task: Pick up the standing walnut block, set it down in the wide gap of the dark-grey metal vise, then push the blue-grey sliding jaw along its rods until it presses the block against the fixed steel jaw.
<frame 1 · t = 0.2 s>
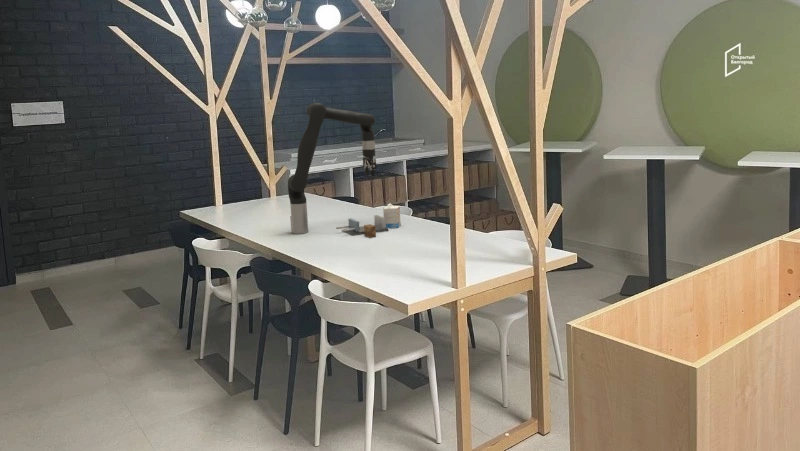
hand: (370, 175, 405), 29 cm above the table, fingers open, 8 cm apart
block: (370, 236, 375), on the table
vise base: (365, 231, 389), on the table
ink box: (392, 226, 399), on the table
sliding jaw: (347, 225, 384), point 5 cm above the table, slide at 0.0 cm
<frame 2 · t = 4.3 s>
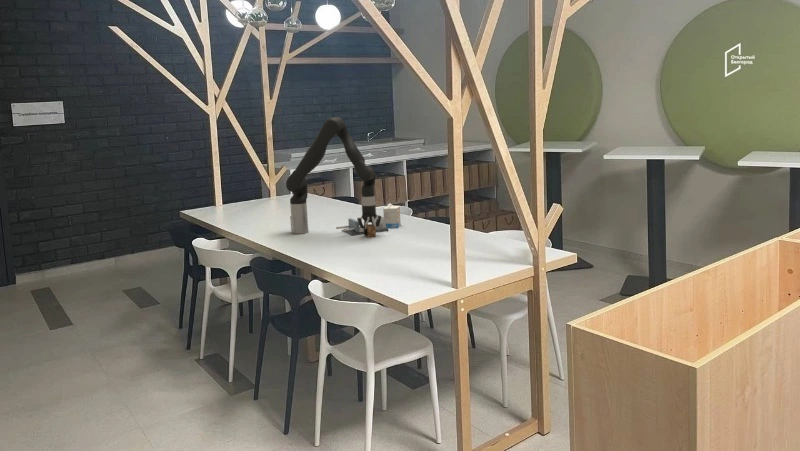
hand: (370, 234, 375), 1 cm above the table, fingers closed on block, 4 cm apart
block: (370, 236, 375), on the table, touching gripper
everything else where it was.
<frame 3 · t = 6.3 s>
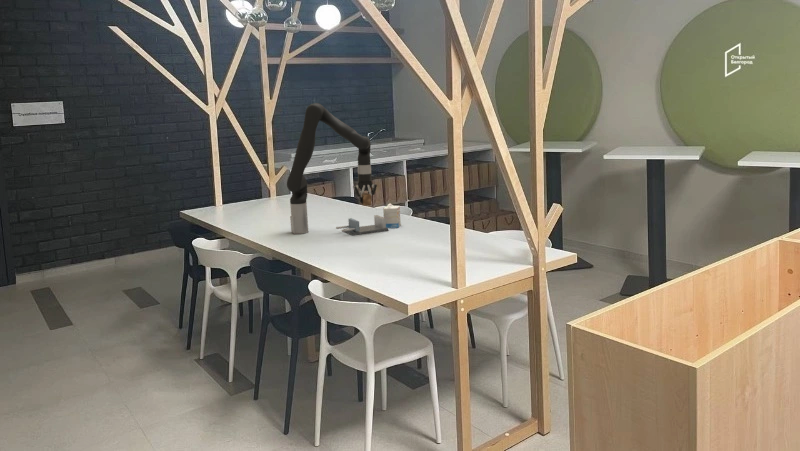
hand: (365, 202, 383), 17 cm above the table, fingers closed on block, 4 cm apart
block: (365, 204, 383), point 16 cm above the table, touching gripper
everything else where it was.
when the fingers open (3 cm above the table, at t = 8.7 s): block stays where it is, resting on vise base.
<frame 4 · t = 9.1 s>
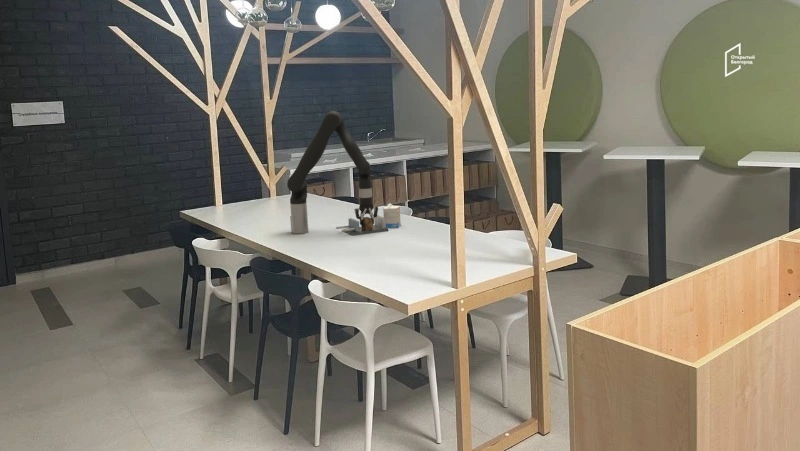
hand: (367, 225, 389), 3 cm above the table, fingers open, 5 cm apart
block: (367, 228, 389), point 1 cm above the table, touching vise base
everything else where it was.
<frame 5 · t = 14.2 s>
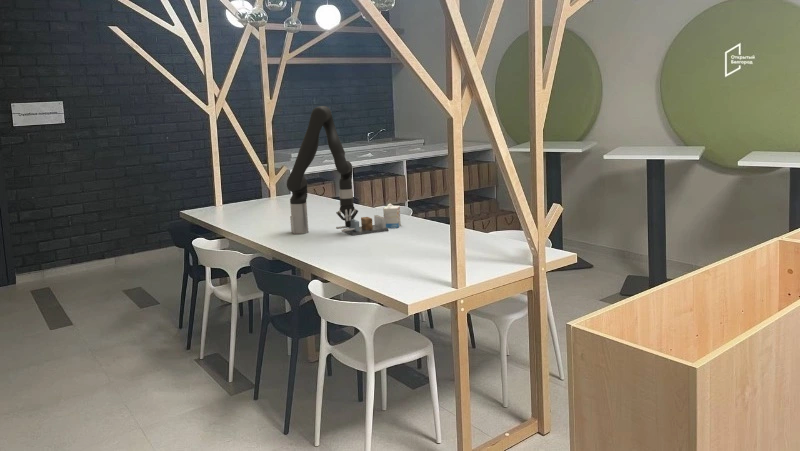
hand: (348, 227, 384), 4 cm above the table, fingers closed
sliding jaw: (347, 225, 384), point 5 cm above the table, slide at 0.0 cm, touching gripper
everything else where it was.
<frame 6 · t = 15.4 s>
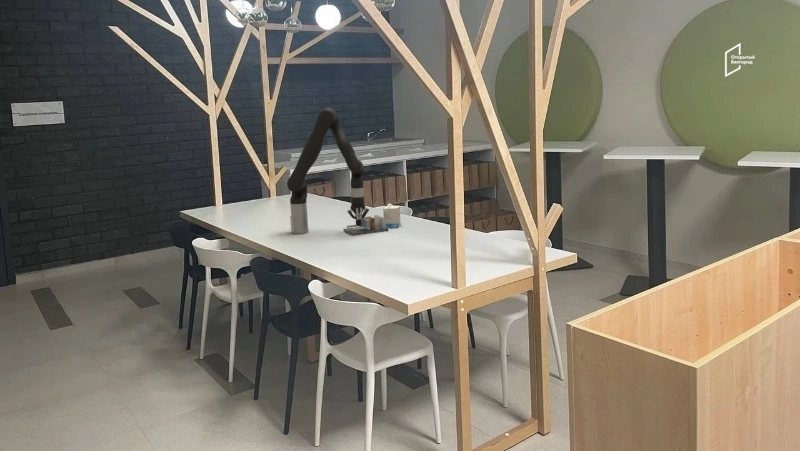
hand: (358, 225, 386), 4 cm above the table, fingers closed
block: (369, 228, 389), point 2 cm above the table, touching sliding jaw
sliding jaw: (357, 224, 386), point 5 cm above the table, slide at 6.4 cm, touching block, gripper
everything else where it was.
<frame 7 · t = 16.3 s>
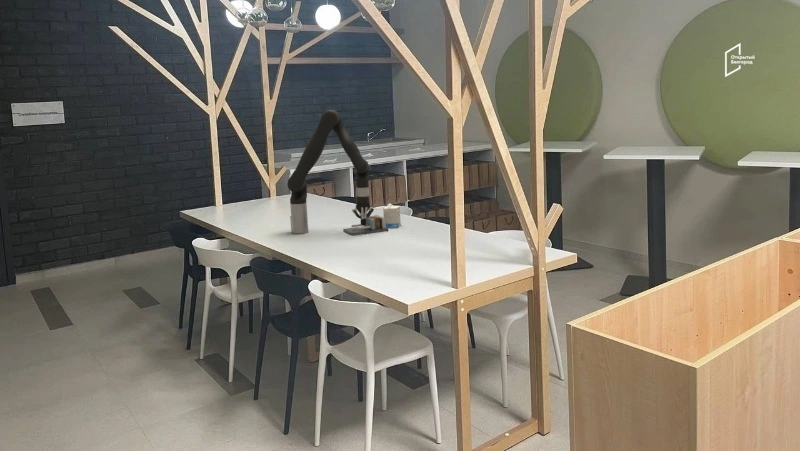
hand: (363, 225, 387), 4 cm above the table, fingers closed
block: (374, 227, 391), point 2 cm above the table, touching sliding jaw
sliding jaw: (362, 223, 387), point 5 cm above the table, slide at 9.4 cm, touching block, gripper
everything else where it was.
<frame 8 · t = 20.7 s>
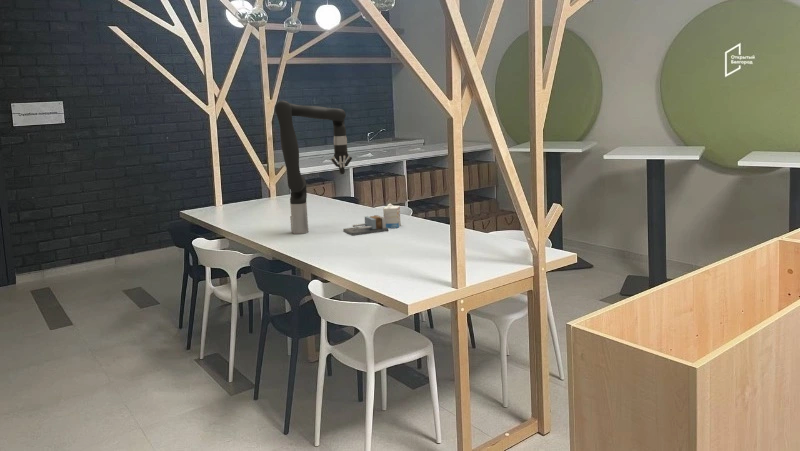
hand: (342, 173, 393), 32 cm above the table, fingers closed
block: (375, 227, 391), point 1 cm above the table, touching vise base
sliding jaw: (363, 223, 388), point 5 cm above the table, slide at 10.0 cm
everything else where it was.
at the end: block 0.0 cm from the target spot, point 1.5 cm above the table; sliding jaw slide at 10.0 cm; block tilted 0° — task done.
